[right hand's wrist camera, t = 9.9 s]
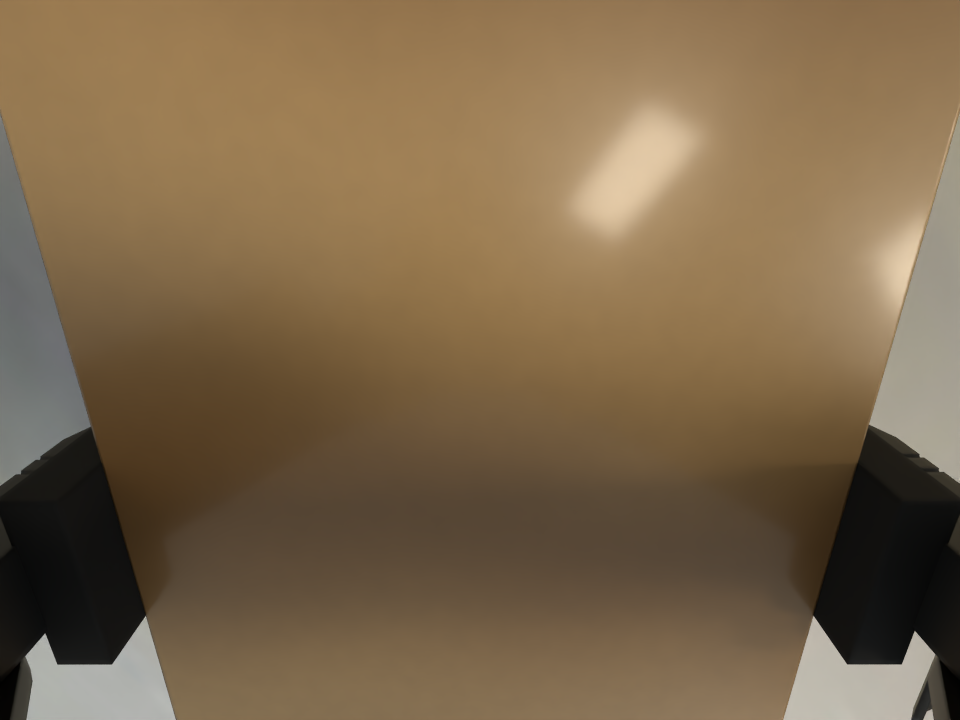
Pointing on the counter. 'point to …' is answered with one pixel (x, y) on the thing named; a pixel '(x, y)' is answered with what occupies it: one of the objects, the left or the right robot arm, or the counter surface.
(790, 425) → the thick board
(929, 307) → the counter surface
